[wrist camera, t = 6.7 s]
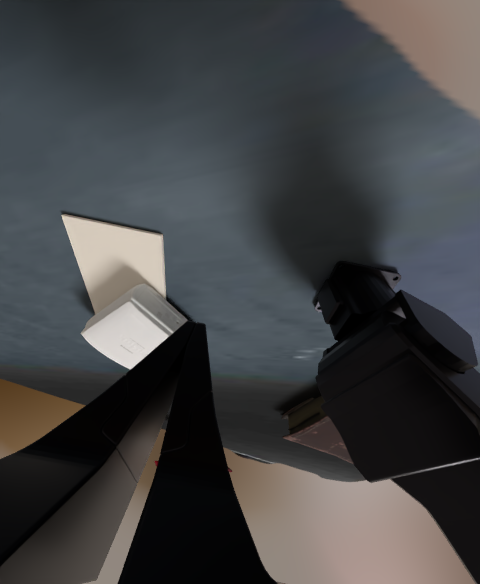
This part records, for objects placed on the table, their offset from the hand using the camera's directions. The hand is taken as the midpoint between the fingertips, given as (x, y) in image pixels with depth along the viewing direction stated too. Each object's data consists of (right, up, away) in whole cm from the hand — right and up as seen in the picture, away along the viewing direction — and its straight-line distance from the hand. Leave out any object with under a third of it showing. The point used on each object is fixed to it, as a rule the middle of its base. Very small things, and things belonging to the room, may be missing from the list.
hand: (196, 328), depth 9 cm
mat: (-12, +2, +16) cm, 20 cm away
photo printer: (-6, -1, +15) cm, 16 cm away
